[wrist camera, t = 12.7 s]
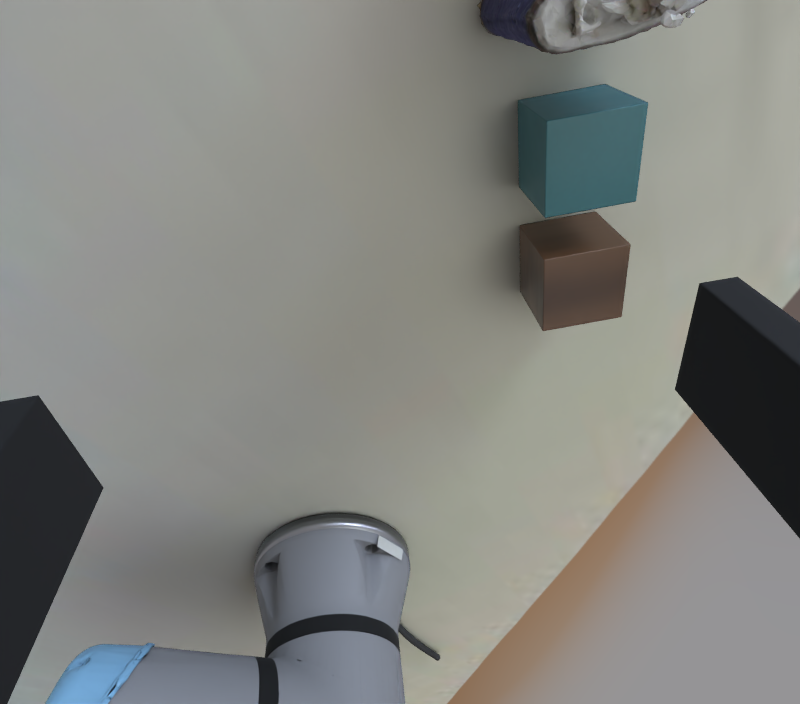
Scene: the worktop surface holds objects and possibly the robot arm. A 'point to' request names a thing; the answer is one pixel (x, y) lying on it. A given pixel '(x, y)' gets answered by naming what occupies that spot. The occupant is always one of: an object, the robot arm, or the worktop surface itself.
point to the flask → (579, 20)
